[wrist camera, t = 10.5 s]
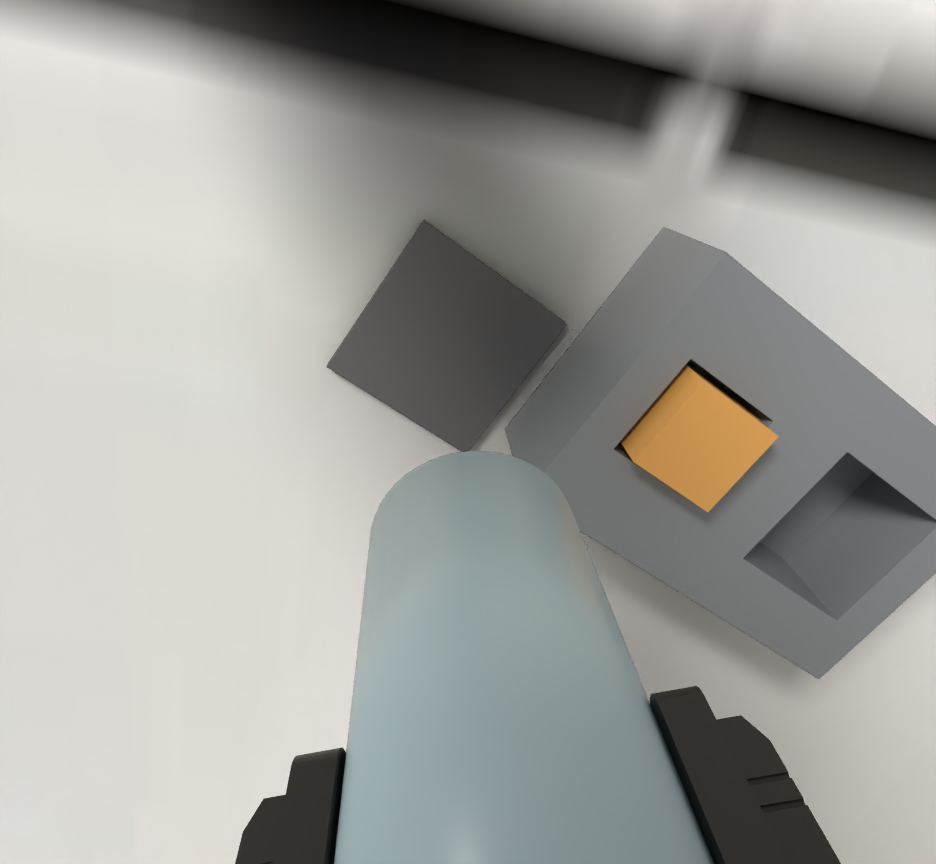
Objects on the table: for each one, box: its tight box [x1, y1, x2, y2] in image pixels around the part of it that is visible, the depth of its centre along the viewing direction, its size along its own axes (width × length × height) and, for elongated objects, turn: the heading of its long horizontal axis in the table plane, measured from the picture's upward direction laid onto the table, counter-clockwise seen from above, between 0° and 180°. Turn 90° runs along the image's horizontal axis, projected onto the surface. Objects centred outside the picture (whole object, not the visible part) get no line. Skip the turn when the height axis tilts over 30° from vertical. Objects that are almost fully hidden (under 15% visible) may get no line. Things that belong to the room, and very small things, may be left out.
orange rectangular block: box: [620, 362, 779, 512], centre depth 29 cm, size 4×4×5 cm
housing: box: [505, 227, 936, 679], centre depth 33 cm, size 18×12×7 cm, turn 54°
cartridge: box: [334, 451, 714, 864], centre depth 12 cm, size 5×5×12 cm
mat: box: [327, 220, 566, 452], centre depth 33 cm, size 8×8×1 cm
